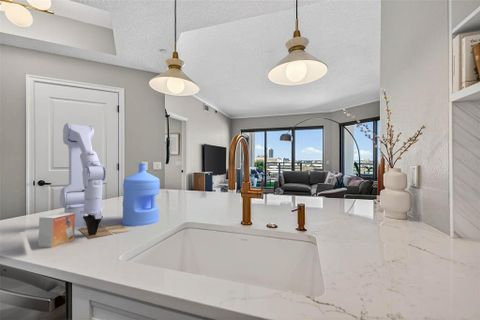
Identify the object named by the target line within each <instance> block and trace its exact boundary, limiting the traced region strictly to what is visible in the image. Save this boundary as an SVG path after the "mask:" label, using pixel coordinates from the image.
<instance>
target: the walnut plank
mask: <svg viewBox="0 0 480 320" xmlns="http://www.w3.org/2000/svg"><path fill="white" fill-rule="evenodd" d="M77 230H78V231H79V232H81V233H82V234H83V235H84V236H85V237H86V238H87V239H88V240H93V239H96V238H102V237H107V236H113V235H114V233H113V232H111V231H110V230H108V229H106V228H105V227H103V226H102V225H99V226H98V230H97V233H96V235H91V236H89V234H88V230H87V227H83V228H77Z"/></svg>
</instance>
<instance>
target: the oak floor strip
mask: <svg viewBox="0 0 480 320" xmlns="http://www.w3.org/2000/svg"><path fill="white" fill-rule="evenodd" d="M101 226H102V227H103V228H105V229H106V230H108V231H110V232H111V233H113V235H116V234H122V233H128V232H131V231H132V230H131V229H129V228H128V227H125V225H123V224H119V223H118V222H115V223H110V224H109V223H108V224H104V225H101Z"/></svg>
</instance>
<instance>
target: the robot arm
mask: <svg viewBox="0 0 480 320" xmlns="http://www.w3.org/2000/svg"><path fill="white" fill-rule="evenodd" d="M94 135H95V129H94V128H93V126H91V125H85V124H84V125H83V124H74V123H68V122H66V123H65V124H64V126H63V130H62V141H63V144H64V145H67V147H68V183H67V184H66V185H65V186H63V187H62V188H61V189H60V195H59V204H60V206H61V207H62V208H64V210H63V212H64V213H75V226H74V228H76V227H81V226H84V225H86V228H87V230H88V234H89V236H91V235H96V233H97V230H98V226H100V223H101V221H102V219H103V212H104V211H103V190H104V189H103V186H104V185H103V184H104V181H105V179H106V176H107V175H106V174H107V172H106V171H107V170H106V167H105V165H103V164H102V163H101V162H100V159H99V156H98V154H97V152H96V151H95V150H93V147H92V144H93V143H92V140H93V139H94Z"/></svg>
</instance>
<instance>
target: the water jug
mask: <svg viewBox="0 0 480 320" xmlns="http://www.w3.org/2000/svg"><path fill="white" fill-rule="evenodd" d="M160 186H161V182H160V178H158V177H156V176H155V175H153V174H151V173H150V172H149V173H148V172H147V163H142V162H140V163H139V162H138V171H137V172H136V173H134V174H132V175H129V176H127V177H126V178H124V179H123V183H122V187H123V188H122V189H123V192H122V193H123V195H122V196H123V197H122V219H121V221H122V222H121V223H122V224H121V225H122V226H128V227H130V226H131V227H140V226H141V227H142V226H149V225H153V224H156V223H158V222H159V221H160V216H159V215H160V207H159V206H157V202H156V201H157V195H159V194H160V188H161V187H160Z"/></svg>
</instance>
